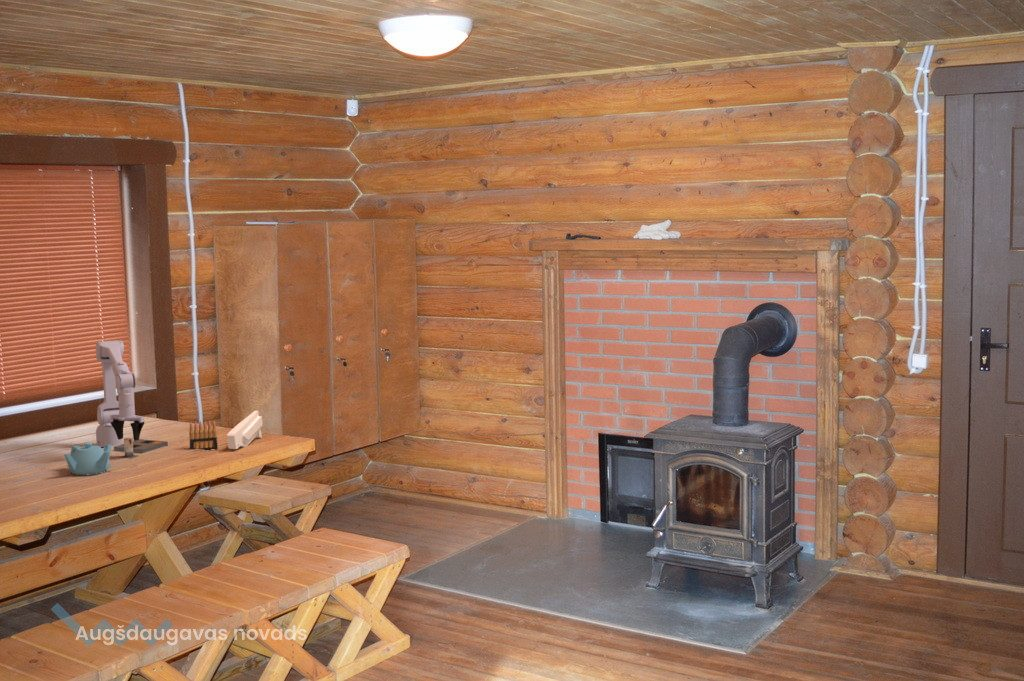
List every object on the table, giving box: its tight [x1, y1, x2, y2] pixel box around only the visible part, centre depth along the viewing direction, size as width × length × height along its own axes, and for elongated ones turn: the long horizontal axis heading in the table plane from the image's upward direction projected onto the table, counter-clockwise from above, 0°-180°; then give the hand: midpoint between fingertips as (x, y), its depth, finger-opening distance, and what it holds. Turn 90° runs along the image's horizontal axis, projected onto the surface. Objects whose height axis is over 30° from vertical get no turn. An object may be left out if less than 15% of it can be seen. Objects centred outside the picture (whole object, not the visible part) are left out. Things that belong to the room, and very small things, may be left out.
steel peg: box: [123, 437, 135, 457], centre depth 405 cm, size 3×3×7 cm
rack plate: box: [113, 438, 169, 454], centre depth 421 cm, size 14×15×3 cm
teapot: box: [63, 442, 112, 476], centre depth 386 cm, size 15×15×11 cm
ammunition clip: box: [189, 420, 218, 451], centre depth 419 cm, size 11×2×12 cm, turn 112°
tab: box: [118, 454, 139, 459], centre depth 406 cm, size 6×5×1 cm
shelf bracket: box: [226, 410, 264, 450], centre depth 430 cm, size 6×25×13 cm, turn 169°
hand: (128, 439), depth 405 cm, fingers open, 7 cm apart
